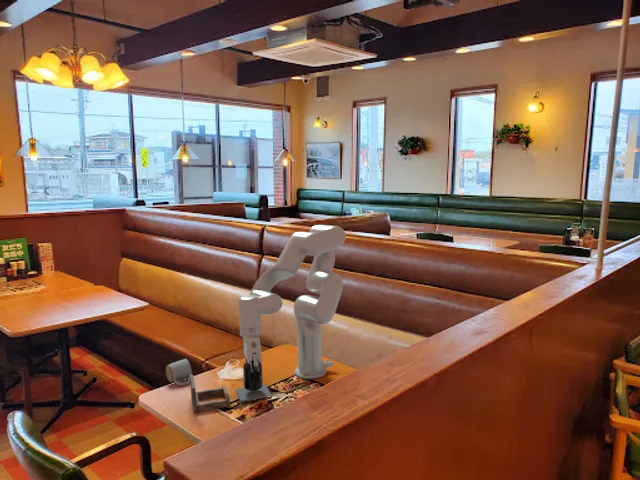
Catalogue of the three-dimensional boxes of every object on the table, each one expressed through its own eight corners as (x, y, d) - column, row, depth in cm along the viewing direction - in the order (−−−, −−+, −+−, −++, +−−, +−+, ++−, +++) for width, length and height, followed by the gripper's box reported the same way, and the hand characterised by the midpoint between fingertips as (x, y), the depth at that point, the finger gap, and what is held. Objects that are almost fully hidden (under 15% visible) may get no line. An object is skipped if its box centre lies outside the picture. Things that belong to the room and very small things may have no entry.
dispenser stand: (225, 392, 173) (224, 369, 172) (230, 407, 162) (228, 382, 161) (191, 398, 169) (189, 374, 168) (193, 414, 158) (192, 388, 157)
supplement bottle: (259, 391, 167) (257, 359, 166) (241, 390, 169) (239, 358, 167) (265, 383, 174) (263, 352, 172) (247, 382, 175) (246, 351, 174)
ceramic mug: (165, 379, 186) (164, 361, 185) (185, 374, 191) (184, 356, 190) (175, 389, 178) (174, 369, 177) (195, 383, 183) (194, 364, 182)
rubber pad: (265, 386, 178) (265, 384, 178) (271, 397, 169) (271, 395, 169) (236, 391, 175) (236, 389, 174) (240, 402, 165) (240, 400, 165)
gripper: (266, 336, 162) (268, 385, 164) (256, 322, 178) (258, 367, 180) (244, 339, 159) (247, 389, 162) (236, 324, 176) (238, 370, 178)
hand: (253, 377), depth 171 cm, fingers closed on supplement bottle, 6 cm apart
